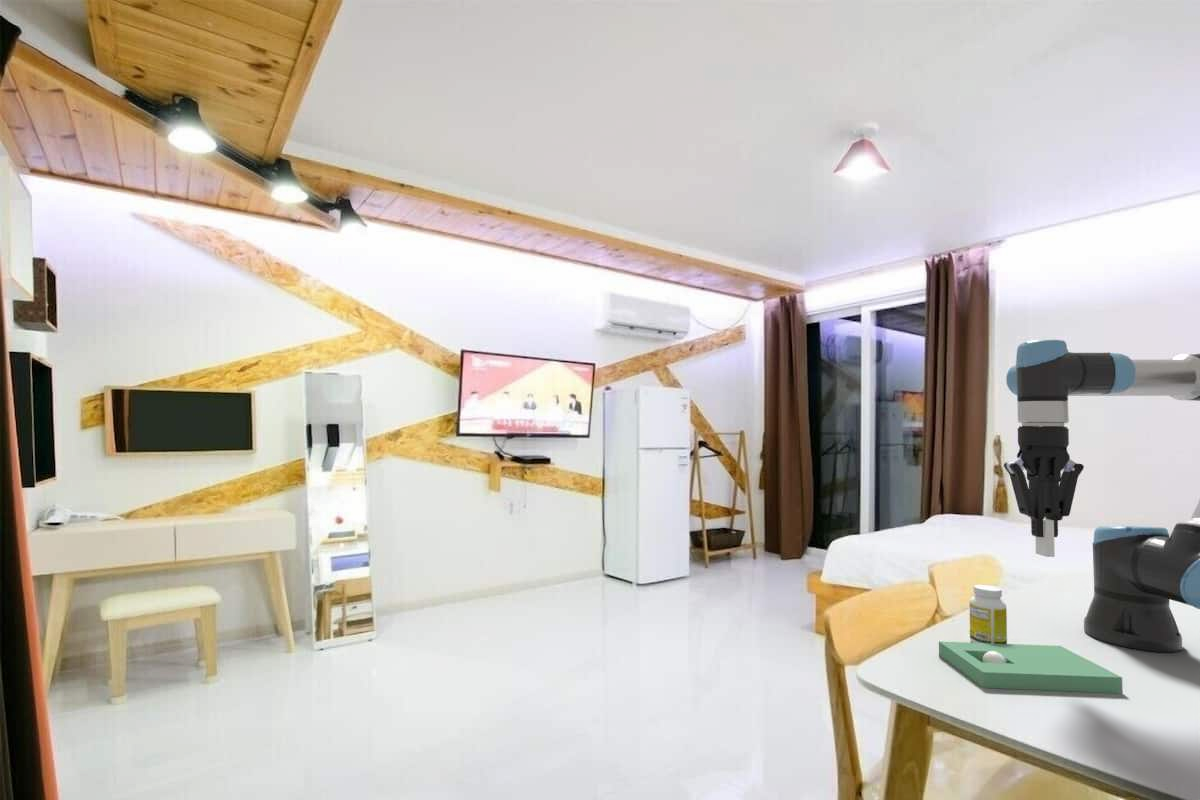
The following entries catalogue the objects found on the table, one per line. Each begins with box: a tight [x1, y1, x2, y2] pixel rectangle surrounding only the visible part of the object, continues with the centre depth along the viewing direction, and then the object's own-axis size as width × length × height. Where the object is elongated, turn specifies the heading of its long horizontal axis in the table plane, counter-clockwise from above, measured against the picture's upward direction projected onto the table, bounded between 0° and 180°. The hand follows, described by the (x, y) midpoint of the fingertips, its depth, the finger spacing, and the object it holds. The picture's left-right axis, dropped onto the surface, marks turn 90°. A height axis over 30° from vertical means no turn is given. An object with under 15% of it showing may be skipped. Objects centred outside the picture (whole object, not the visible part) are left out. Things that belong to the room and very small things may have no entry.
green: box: [938, 641, 1123, 694], centre depth 105 cm, size 22×14×2 cm, turn 87°
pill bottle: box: [969, 584, 1008, 644], centre depth 119 cm, size 6×6×11 cm
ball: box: [983, 651, 1006, 663], centre depth 105 cm, size 4×4×4 cm
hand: (1045, 555), depth 110 cm, fingers closed
